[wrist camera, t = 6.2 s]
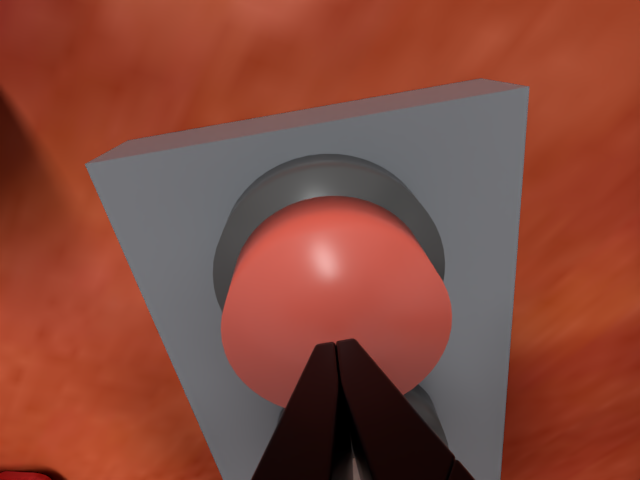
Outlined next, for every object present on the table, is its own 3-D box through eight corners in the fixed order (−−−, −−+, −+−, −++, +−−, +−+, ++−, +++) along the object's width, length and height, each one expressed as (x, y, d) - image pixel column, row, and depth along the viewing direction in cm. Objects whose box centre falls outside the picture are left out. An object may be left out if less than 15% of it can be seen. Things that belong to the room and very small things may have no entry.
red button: (421, 179, 9) (451, 210, 8) (429, 344, 12) (452, 398, 10) (210, 214, 10) (190, 253, 8) (258, 371, 12) (251, 429, 10)
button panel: (481, 78, 13) (563, 92, 9) (472, 503, 24) (508, 597, 20) (127, 140, 13) (53, 181, 9) (275, 532, 24) (271, 630, 20)
